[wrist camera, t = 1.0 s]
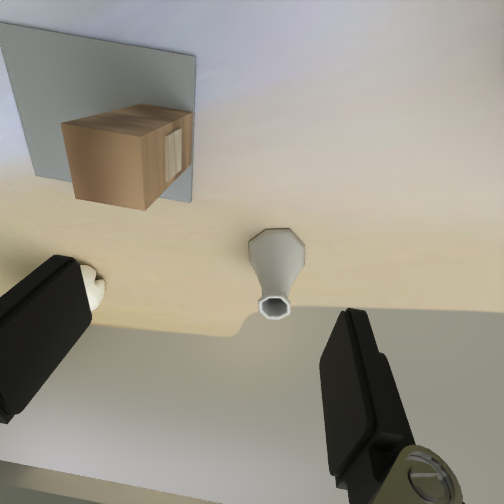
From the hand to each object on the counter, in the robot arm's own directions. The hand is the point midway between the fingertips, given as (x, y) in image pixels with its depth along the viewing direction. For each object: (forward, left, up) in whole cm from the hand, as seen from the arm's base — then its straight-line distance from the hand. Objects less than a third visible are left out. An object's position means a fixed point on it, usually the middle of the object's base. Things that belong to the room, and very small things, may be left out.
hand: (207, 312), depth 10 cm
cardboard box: (+9, 0, -23) cm, 24 cm away
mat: (+16, 0, -23) cm, 28 cm away
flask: (-4, +12, -23) cm, 26 cm away
